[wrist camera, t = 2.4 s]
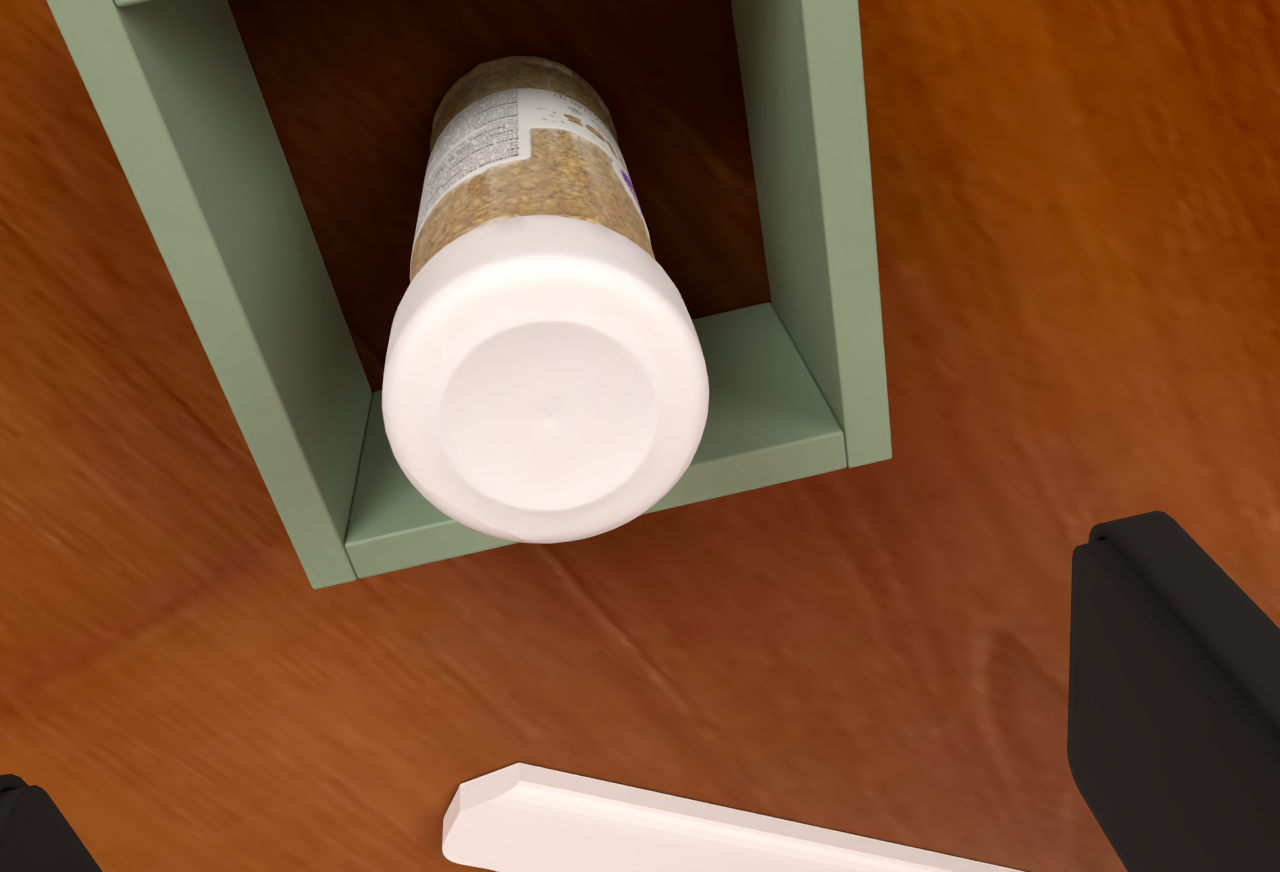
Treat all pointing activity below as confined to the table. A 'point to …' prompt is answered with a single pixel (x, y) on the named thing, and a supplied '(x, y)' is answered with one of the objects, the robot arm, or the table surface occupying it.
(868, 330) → the crate
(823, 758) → the table surface
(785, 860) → the tray
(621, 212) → the sprinkles bottle
